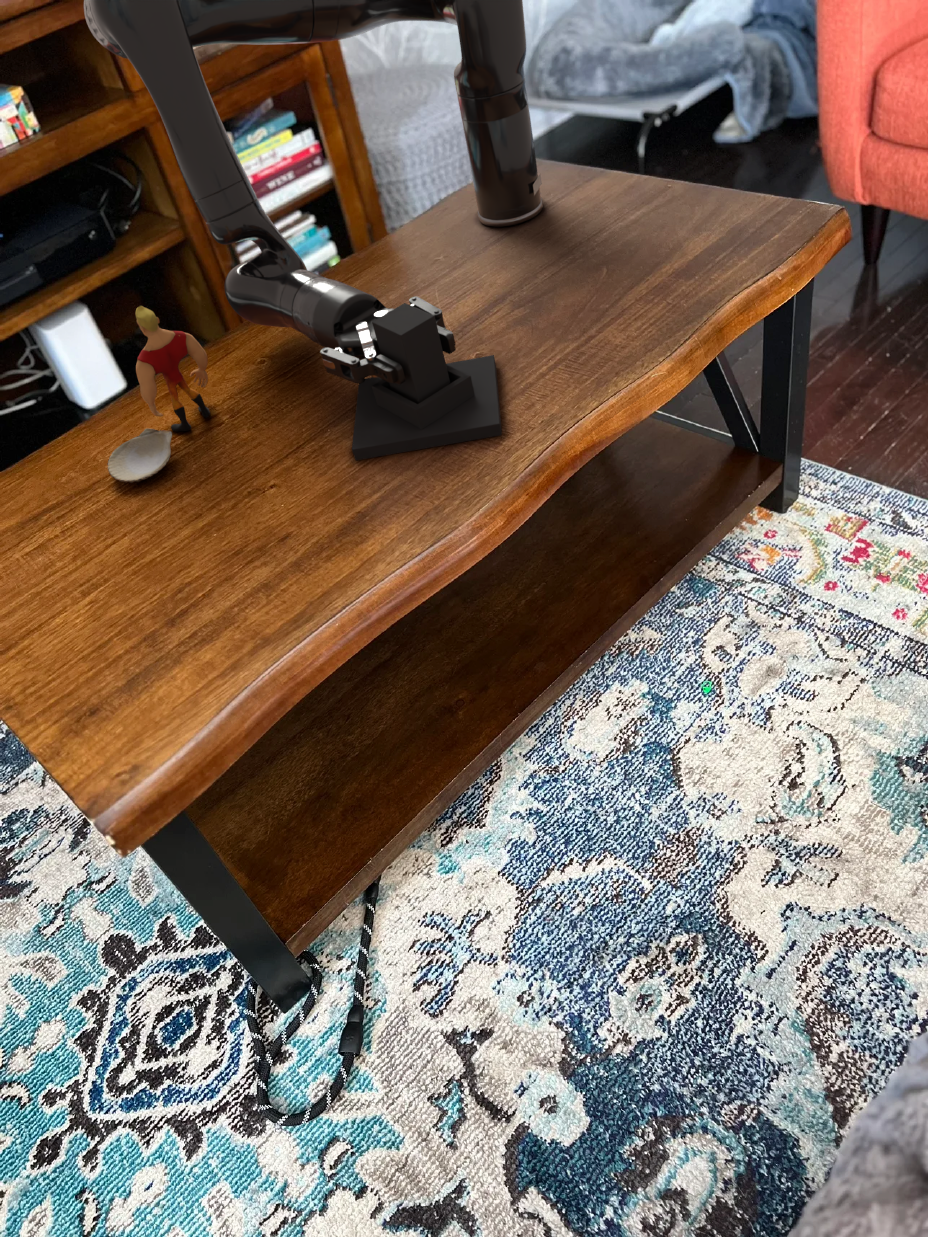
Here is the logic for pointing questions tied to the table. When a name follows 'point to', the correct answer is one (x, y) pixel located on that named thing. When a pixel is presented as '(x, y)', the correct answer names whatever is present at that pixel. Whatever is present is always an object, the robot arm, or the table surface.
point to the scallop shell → (141, 456)
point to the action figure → (169, 365)
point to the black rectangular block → (413, 351)
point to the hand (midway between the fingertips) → (426, 359)
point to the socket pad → (440, 432)
